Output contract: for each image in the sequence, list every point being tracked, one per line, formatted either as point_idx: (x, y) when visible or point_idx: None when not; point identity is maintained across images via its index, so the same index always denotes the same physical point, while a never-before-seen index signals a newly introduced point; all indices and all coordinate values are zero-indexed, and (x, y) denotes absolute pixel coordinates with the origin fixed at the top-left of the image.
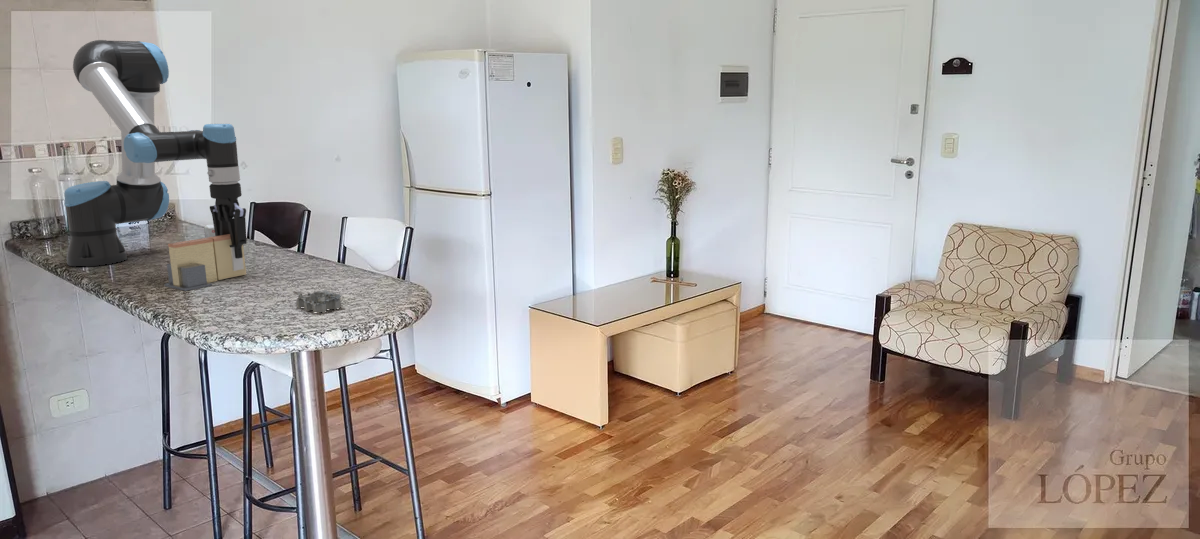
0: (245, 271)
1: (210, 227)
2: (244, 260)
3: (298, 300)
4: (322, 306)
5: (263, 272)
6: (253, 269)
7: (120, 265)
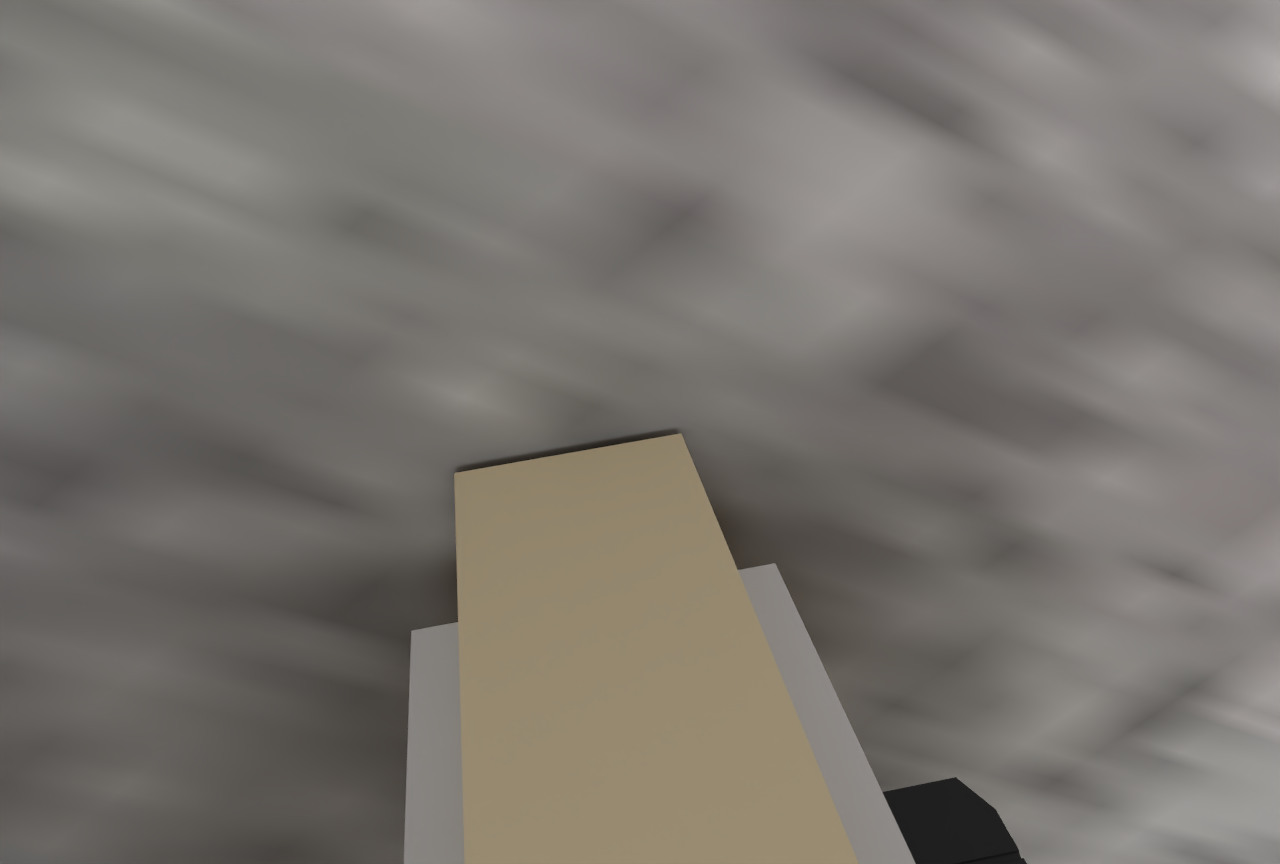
0: (697, 475)
1: None
2: (752, 609)
3: None
4: None
5: (709, 61)
6: (169, 65)
7: None
